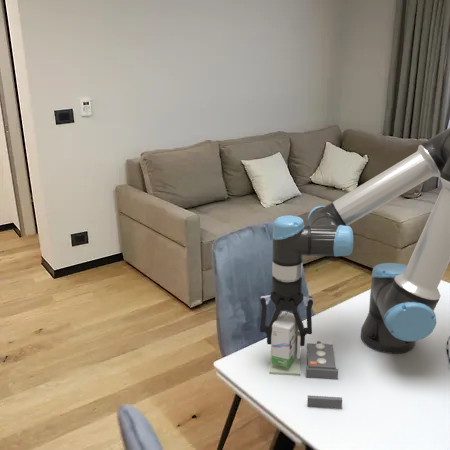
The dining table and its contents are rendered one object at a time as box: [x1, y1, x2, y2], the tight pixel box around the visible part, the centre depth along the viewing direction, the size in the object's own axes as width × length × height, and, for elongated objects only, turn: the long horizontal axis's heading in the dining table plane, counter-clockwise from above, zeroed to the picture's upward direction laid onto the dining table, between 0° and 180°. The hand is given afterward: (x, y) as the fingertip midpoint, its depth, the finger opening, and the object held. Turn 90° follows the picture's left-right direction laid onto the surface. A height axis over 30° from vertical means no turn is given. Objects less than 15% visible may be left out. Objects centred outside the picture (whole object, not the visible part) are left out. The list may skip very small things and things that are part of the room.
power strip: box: [305, 340, 343, 410], centre depth 135 cm, size 8×28×4 cm, turn 173°
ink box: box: [272, 310, 299, 368], centre depth 137 cm, size 8×5×12 cm, turn 154°
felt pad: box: [268, 355, 301, 377], centre depth 139 cm, size 8×10×1 cm
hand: (285, 354), depth 139 cm, fingers closed on ink box, 6 cm apart
